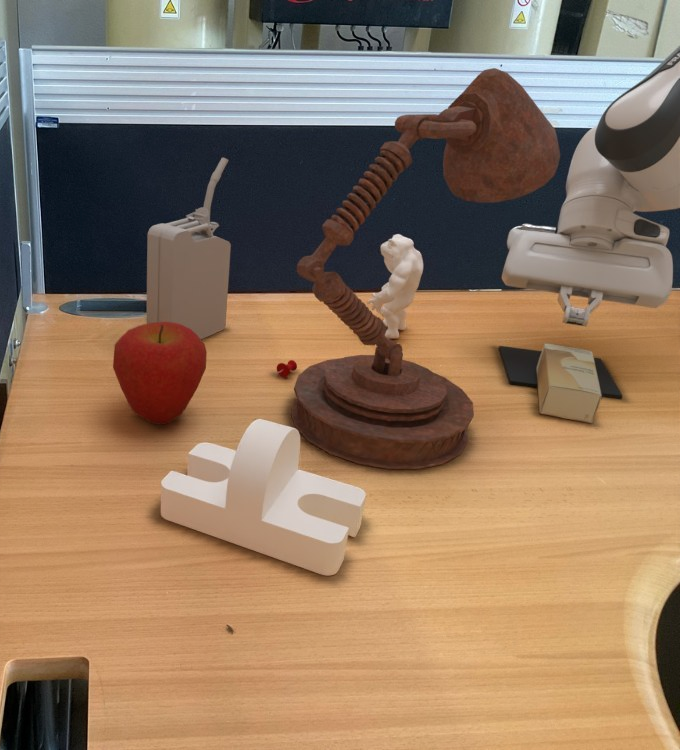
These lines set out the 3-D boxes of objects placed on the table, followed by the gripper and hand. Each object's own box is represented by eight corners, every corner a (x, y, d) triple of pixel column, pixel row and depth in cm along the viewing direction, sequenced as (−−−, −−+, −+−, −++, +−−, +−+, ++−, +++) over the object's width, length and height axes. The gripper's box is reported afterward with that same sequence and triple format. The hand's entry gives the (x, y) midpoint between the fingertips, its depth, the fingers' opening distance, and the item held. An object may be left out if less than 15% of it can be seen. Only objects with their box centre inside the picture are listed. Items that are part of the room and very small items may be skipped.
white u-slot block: (334, 578, 67) (349, 483, 62) (156, 516, 74) (158, 426, 70) (363, 520, 75) (379, 431, 70) (199, 468, 82) (204, 384, 77)
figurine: (400, 349, 112) (418, 251, 105) (357, 339, 115) (371, 243, 108) (418, 326, 120) (436, 233, 113) (377, 317, 123) (392, 226, 116)
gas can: (211, 315, 121) (219, 155, 110) (235, 324, 118) (247, 160, 107) (144, 342, 111) (146, 169, 100) (169, 353, 108) (175, 175, 97)
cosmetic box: (593, 350, 101) (605, 394, 91) (583, 378, 104) (594, 424, 94) (541, 341, 103) (548, 384, 93) (533, 369, 105) (539, 414, 95)
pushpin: (281, 383, 101) (282, 370, 100) (268, 378, 102) (269, 365, 101) (298, 374, 103) (299, 360, 103) (285, 369, 105) (286, 356, 104)
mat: (599, 361, 110) (600, 358, 110) (621, 398, 100) (622, 395, 100) (498, 348, 113) (499, 345, 113) (509, 383, 103) (510, 380, 103)
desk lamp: (546, 429, 92) (649, 77, 74) (342, 499, 78) (408, 82, 60) (420, 361, 108) (479, 59, 90) (231, 408, 94) (257, 60, 76)
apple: (134, 389, 98) (135, 301, 92) (214, 405, 95) (219, 315, 89) (98, 430, 88) (96, 335, 83) (185, 449, 85) (189, 351, 80)
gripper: (513, 210, 105) (494, 299, 101) (683, 230, 97) (669, 327, 94) (508, 233, 110) (489, 318, 107) (668, 254, 103) (654, 346, 99)
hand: (574, 323), depth 100 cm, fingers closed
